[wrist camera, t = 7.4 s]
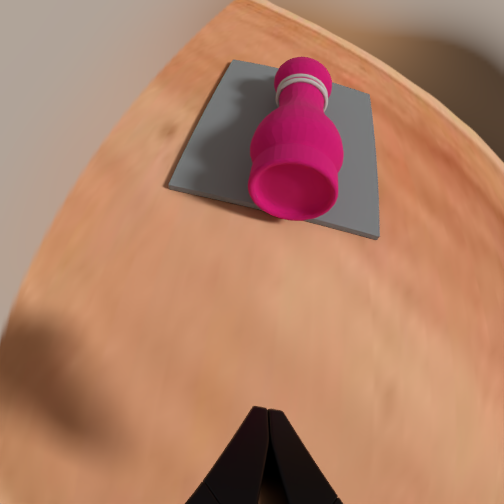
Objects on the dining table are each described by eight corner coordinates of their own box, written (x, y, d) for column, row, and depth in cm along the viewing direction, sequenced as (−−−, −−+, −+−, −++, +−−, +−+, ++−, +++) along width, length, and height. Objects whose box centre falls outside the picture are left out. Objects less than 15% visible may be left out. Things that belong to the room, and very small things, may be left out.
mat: (376, 240, 26) (379, 236, 26) (168, 189, 26) (168, 184, 26) (367, 98, 37) (369, 94, 36) (232, 63, 36) (233, 59, 36)
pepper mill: (223, 199, 24) (261, 74, 34) (305, 236, 26) (313, 103, 36) (273, 135, 18) (293, 29, 28) (367, 189, 20) (348, 63, 30)
